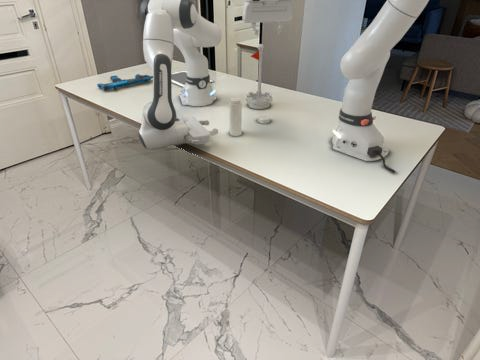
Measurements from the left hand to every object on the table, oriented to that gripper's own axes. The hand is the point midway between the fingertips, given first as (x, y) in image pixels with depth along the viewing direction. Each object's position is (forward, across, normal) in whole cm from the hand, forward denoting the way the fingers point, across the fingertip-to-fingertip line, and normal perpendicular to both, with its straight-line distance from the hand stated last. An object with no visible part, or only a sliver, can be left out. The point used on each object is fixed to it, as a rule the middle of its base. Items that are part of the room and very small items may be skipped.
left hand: (212, 126), depth 141 cm
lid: (+28, +6, +4) cm, 29 cm away
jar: (+11, 0, +6) cm, 12 cm away
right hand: (+28, +6, -33) cm, 43 cm away
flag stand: (+36, +25, +5) cm, 44 cm away
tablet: (+17, +86, +5) cm, 88 cm away
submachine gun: (-18, +95, +5) cm, 97 cm away
